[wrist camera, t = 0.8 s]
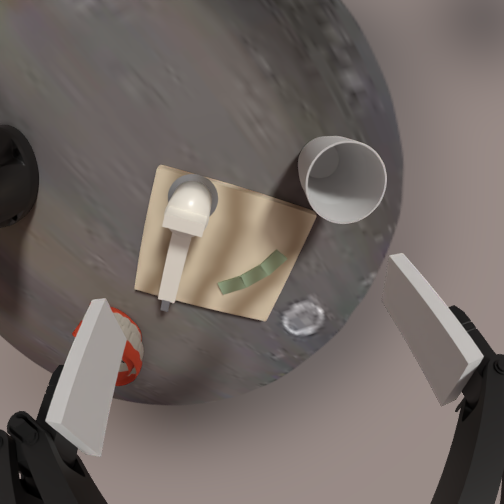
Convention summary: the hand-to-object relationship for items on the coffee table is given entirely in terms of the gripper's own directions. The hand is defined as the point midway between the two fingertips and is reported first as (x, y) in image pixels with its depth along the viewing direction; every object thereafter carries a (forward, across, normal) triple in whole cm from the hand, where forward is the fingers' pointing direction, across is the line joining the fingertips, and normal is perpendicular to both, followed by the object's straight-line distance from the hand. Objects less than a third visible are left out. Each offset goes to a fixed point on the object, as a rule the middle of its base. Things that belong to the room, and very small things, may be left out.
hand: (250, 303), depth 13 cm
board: (+25, -4, -11) cm, 27 cm away
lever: (+23, -8, -8) cm, 26 cm away
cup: (+25, +10, -1) cm, 27 cm away
